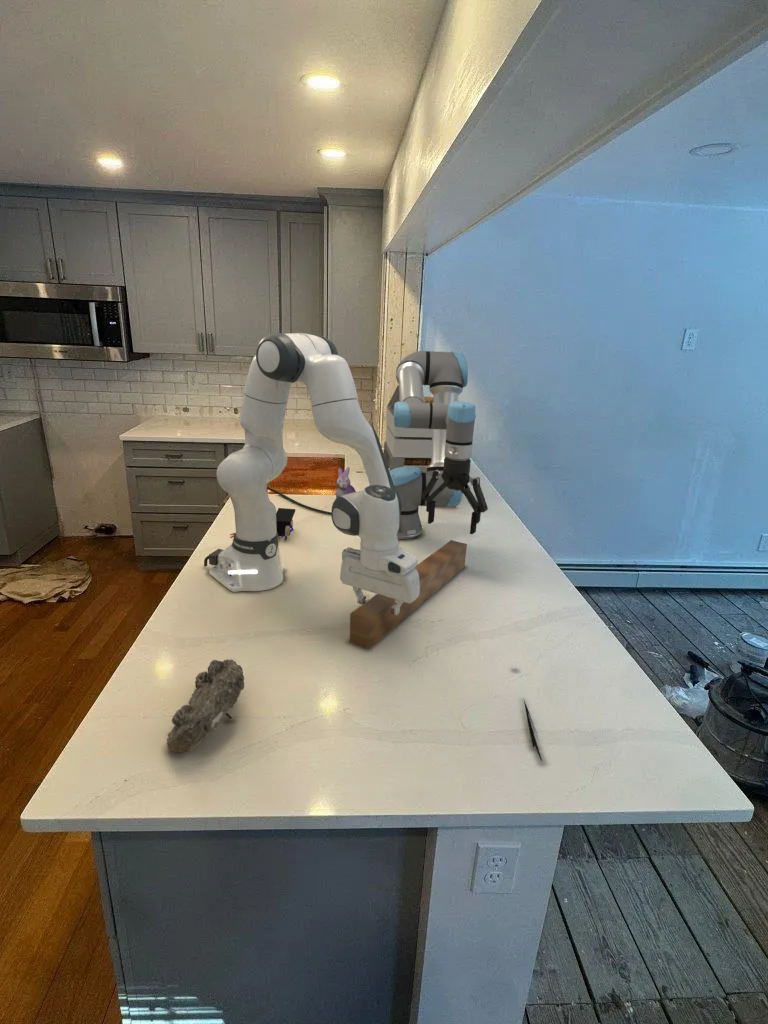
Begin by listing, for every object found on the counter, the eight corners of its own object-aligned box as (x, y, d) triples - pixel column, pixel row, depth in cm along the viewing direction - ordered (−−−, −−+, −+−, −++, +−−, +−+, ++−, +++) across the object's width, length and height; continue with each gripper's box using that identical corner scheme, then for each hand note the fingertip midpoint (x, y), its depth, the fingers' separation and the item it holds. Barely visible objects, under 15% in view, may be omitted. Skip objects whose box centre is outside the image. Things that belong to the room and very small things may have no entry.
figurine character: (291, 546, 188) (296, 525, 202) (290, 526, 185) (296, 506, 198) (270, 546, 188) (277, 525, 201) (269, 526, 185) (276, 506, 198)
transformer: (382, 463, 289) (386, 382, 275) (445, 464, 293) (451, 384, 279) (390, 482, 257) (394, 392, 243) (460, 483, 261) (468, 394, 247)
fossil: (192, 660, 117) (244, 628, 112) (224, 691, 120) (276, 661, 115) (142, 746, 98) (202, 712, 93) (182, 779, 101) (242, 748, 96)
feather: (515, 674, 127) (521, 668, 126) (541, 765, 100) (548, 758, 100) (509, 670, 127) (514, 664, 126) (533, 761, 100) (540, 753, 99)
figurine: (339, 509, 221) (340, 472, 216) (329, 501, 229) (330, 465, 224) (361, 506, 225) (362, 470, 220) (351, 498, 234) (352, 463, 228)
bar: (449, 562, 179) (451, 539, 176) (464, 566, 176) (467, 543, 174) (349, 642, 134) (350, 613, 132) (368, 649, 132) (369, 620, 129)
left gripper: (334, 550, 134) (335, 602, 138) (411, 570, 124) (408, 625, 129) (349, 541, 139) (349, 592, 144) (424, 560, 129) (421, 614, 134)
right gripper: (412, 453, 163) (408, 521, 170) (494, 468, 151) (486, 541, 158) (424, 448, 169) (420, 515, 176) (504, 462, 157) (496, 533, 164)
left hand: (378, 608), depth 136 cm, fingers open, 8 cm apart
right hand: (451, 527), depth 167 cm, fingers open, 13 cm apart
